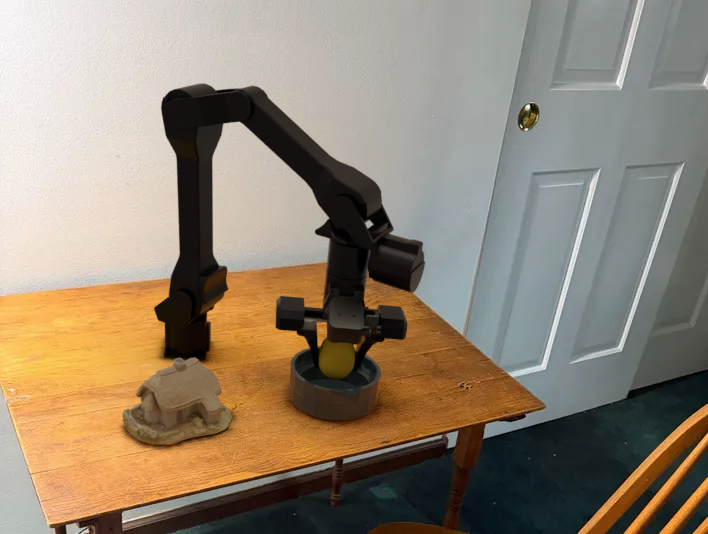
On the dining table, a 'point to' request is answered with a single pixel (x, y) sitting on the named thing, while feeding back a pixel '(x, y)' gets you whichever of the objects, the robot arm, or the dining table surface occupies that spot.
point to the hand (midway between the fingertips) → (335, 368)
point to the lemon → (336, 359)
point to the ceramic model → (178, 405)
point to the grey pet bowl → (333, 389)
